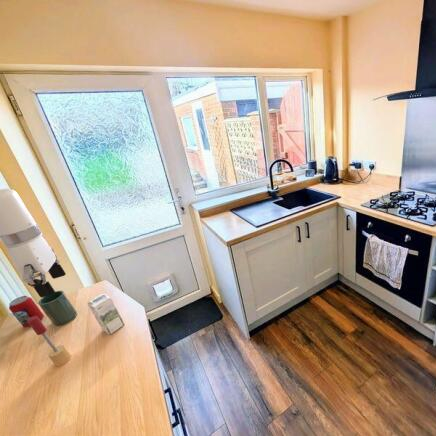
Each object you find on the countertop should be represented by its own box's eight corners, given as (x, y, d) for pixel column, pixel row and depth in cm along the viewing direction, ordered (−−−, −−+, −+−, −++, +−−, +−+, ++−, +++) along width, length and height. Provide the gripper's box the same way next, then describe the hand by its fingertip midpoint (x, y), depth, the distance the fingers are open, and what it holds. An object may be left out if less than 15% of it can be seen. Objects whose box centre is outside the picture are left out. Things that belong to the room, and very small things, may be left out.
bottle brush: (58, 368, 83) (25, 326, 74) (53, 363, 85) (20, 321, 76) (73, 357, 86) (43, 315, 78) (68, 352, 88) (38, 311, 80)
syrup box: (118, 319, 100) (103, 292, 94) (125, 324, 97) (110, 296, 91) (102, 330, 96) (86, 302, 90) (110, 336, 93) (93, 307, 87)
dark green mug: (58, 329, 99) (42, 307, 94) (50, 322, 103) (35, 301, 98) (80, 315, 105) (66, 293, 100) (72, 309, 109) (59, 288, 104)
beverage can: (19, 327, 102) (2, 305, 97) (37, 314, 108) (22, 293, 103) (30, 329, 101) (13, 307, 96) (48, 316, 107) (33, 295, 101)
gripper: (18, 227, 71) (49, 274, 79) (-17, 254, 57) (25, 309, 64) (50, 220, 74) (77, 266, 81) (25, 244, 60) (60, 297, 67)
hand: (54, 285), depth 73 cm, fingers open, 9 cm apart
